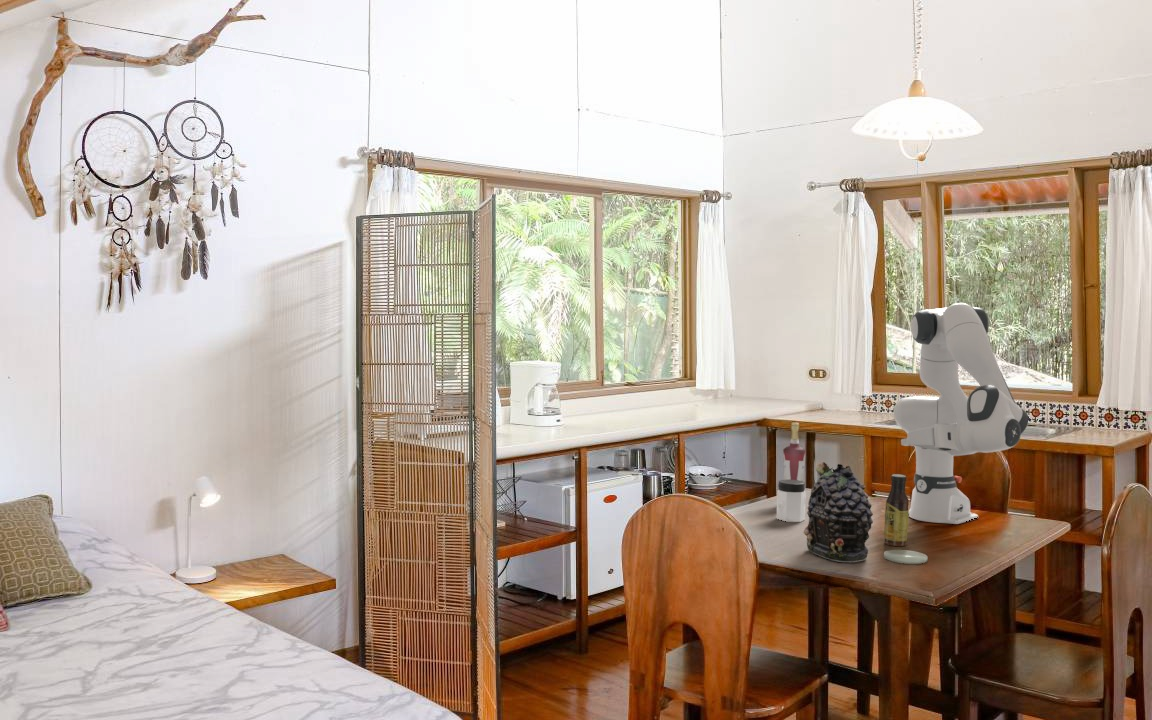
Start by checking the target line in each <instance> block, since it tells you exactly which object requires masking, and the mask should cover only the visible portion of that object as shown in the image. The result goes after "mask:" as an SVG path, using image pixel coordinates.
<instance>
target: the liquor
mask: <svg viewBox="0 0 1152 720" xmlns="http://www.w3.org/2000/svg"><path fill="white" fill-rule="evenodd" d="M790 430H791V431H790V432H791V433H790V440H789V441H790V443H789V445H788V446H785V447H784V448H783V450H782V453H783V454H782V455H783V458H782V459H783V461H782V463H783V464H782V465H783V466H782V467H783V480H799V481H803V482H804V475H805V474H804V473H805V463H806V462H805V461H806V449H804V447H802V446H800V441H799V438H800V437H799V430H800V423H799V422H791V423H790Z"/></svg>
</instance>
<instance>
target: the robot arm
mask: <svg viewBox="0 0 1152 720" xmlns="http://www.w3.org/2000/svg"><path fill="white" fill-rule="evenodd" d="M989 329H990V322H989V317H988V314H987V313H986V311H985V310H984V308H981V307H978V306H971V305H969V304H968V303H964V302H957V303H953V304H951V305H949V306H947V307H942V308H939V307H938V308H933V309H927V308H926V309H921V310H919V311H916V312H915V313H914V315H912V319H911V322H910V332H911V335H912V338H913V340H914V341H915V342H916V343H918V344H921V349H920V360H919V361H920V362H919V363H920V364H919V378H920V381H921V382H922V383H923V384H924V386H926V387H928V388H930V389H932V390H934V391H936V392H937V393H938V394H939V396H923V395H922V396H920V395H919V396H918V395H916V396H915V395H914V396H907V397H901V398H900V399H899V400H898V401H896V403H895V405H894V408H893V418H894V421H895V424H897V426H898V427H899V428H901V429H903V431H904V432H905V433H906V435H907V437H906V438H901V440H900V445H901V446H905V447H909V446H910V447H914V450H915V465H916V466H915V473H914V477H913V484H914V485H915V486H914V488H913V489H912V492H911V493H912V494H911V501H910V508H909V512H908V518H909V517H910V518H911V519H914V520H916V521H921V522H927V523H938V524H951V525H952V524H953V525H959V524H963V523H967V522H969V520H970V521H972V520H971V519H973V520H975V519H974V518H977V517H978V518H979V515H978V514H977V513H973V512H971V501H970V499H969V498H968V497H967V495H965V494H964V493H963V492H962V490H960V489H958V487H957V483H960V484H961V483H962V481H963V478H962V476H958V475H954V457H959V456H967V455H968V456H969V455H974V454H976V453H983V454H985V453H986V454H988V453H995V452H1000V451H1007V450H1009V449H1011V448H1014V447H1015V446H1016V445H1018V443H1019V442H1020V440H1021V435H1022V434H1023V433H1024V431H1025V430H1026V428H1027V427H1028V423H1029V416H1028V413H1027V411H1025V409H1023V408H1022V407H1020V405H1018V404H1017V403H1016V401H1015V400H1014V397H1013V395H1012V393H1011V390H1010V388H1009V386H1008V384H1007V381H1006V380H1005V377H1004V375H1003V373H1002V371H1001V369H1000V366H999V364H998V361H997V358H996V356H995V354H994V350H993V347H992V345H991V343H990V339H989V336H988V332H989ZM959 366H960V367H961V368H962V369H964V370H965V371H966V372H967V373H968V374H969V375H970V376H972V378H973V379H974V380H975V381H976V382H977V383H978V384H979V387H976V388H975V389H974V390H972V392H971V393H970V394H969V396H968V395H967V394H966V393H965V391H964V390H963V389H962V386H961V384H960V379H959ZM978 518H977V519H978ZM966 521H967V522H966Z"/></svg>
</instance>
